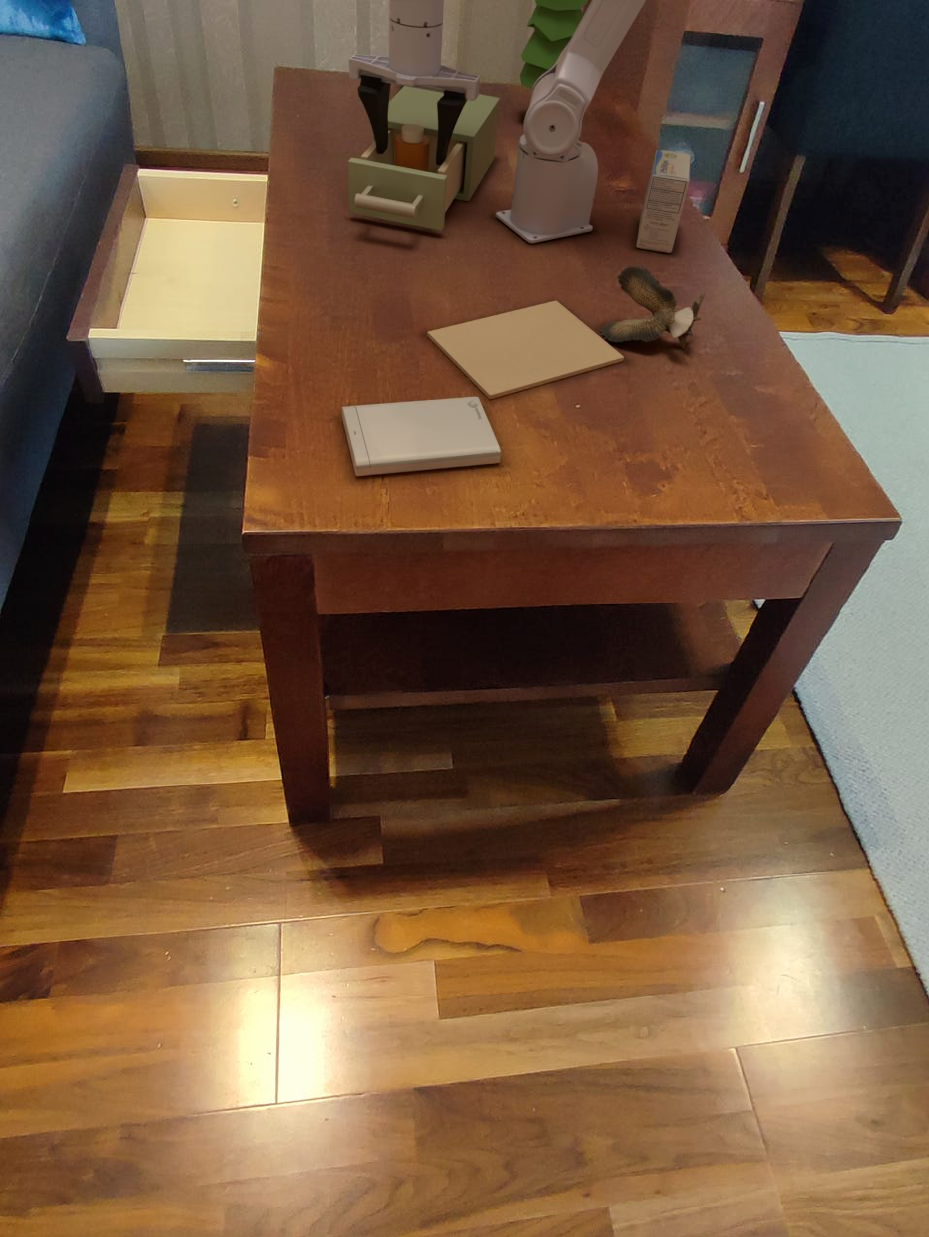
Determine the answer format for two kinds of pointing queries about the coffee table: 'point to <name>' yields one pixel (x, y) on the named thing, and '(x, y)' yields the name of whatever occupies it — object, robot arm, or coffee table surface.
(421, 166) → the bottle
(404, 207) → the drawer
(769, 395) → the coffee table surface
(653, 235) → the medicine box
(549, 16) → the decorative tree
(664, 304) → the eagle figurine
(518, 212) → the robot arm
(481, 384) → the mat
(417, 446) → the hard drive
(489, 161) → the cabinet
